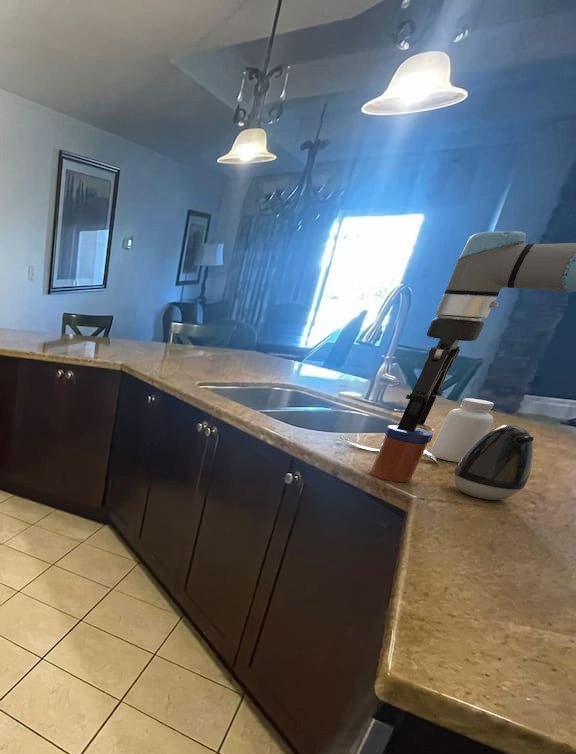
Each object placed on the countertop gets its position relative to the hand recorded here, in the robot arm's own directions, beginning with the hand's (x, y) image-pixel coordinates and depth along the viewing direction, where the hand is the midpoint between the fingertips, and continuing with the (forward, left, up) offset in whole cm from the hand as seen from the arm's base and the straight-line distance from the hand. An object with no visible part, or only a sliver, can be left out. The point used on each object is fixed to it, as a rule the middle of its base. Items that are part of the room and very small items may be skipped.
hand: (410, 426), depth 106 cm
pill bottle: (-6, -31, -12) cm, 34 cm away
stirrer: (+5, -21, -12) cm, 25 cm away
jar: (0, 0, -12) cm, 12 cm away
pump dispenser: (-14, -3, -12) cm, 19 cm away
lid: (0, 0, -1) cm, 1 cm away
